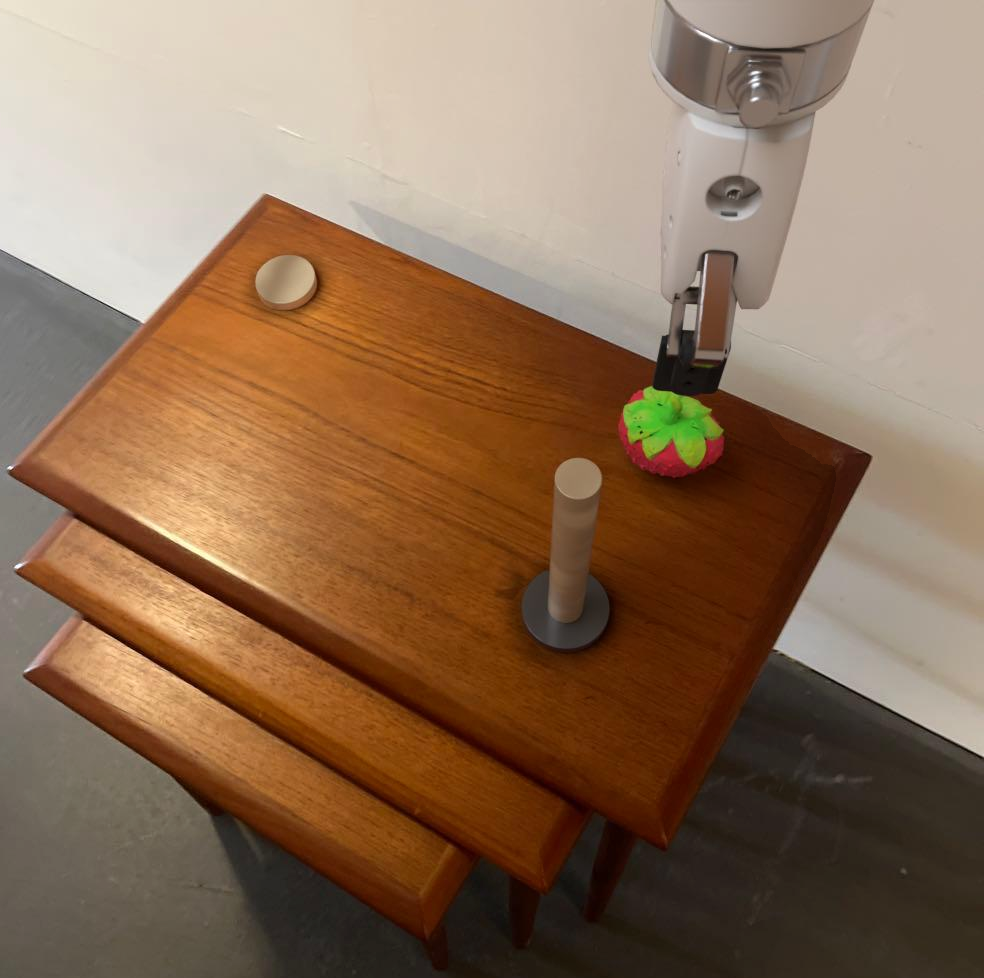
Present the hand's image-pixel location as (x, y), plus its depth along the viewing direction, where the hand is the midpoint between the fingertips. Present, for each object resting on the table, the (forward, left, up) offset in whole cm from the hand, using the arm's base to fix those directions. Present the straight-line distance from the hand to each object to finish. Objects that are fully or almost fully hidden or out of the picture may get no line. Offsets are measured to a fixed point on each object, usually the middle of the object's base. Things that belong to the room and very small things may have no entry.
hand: (686, 309), depth 51 cm
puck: (+30, -16, -21) cm, 40 cm away
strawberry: (-1, -2, -21) cm, 22 cm away
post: (+5, +10, -21) cm, 24 cm away
